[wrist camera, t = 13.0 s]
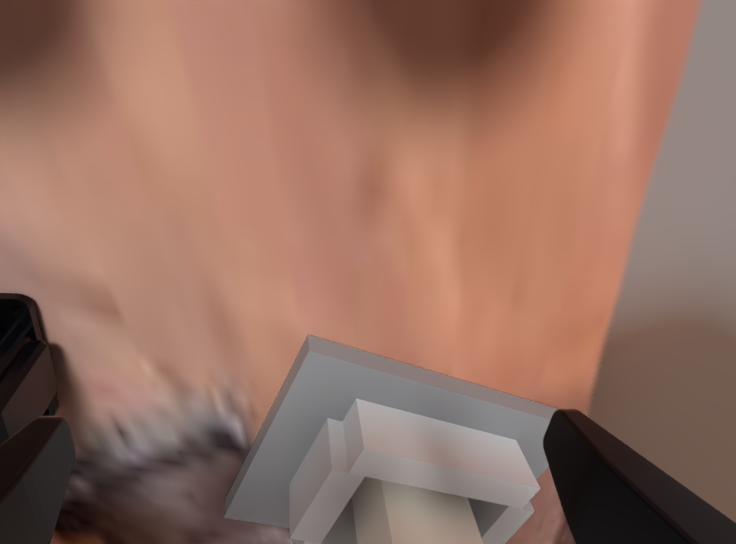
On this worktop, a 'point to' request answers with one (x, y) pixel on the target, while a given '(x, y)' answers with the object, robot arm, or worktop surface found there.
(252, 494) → the hinge base
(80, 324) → the worktop surface
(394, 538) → the cream rectangular block
